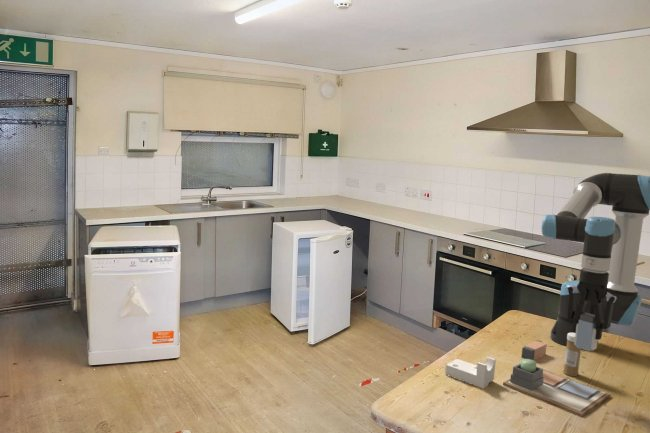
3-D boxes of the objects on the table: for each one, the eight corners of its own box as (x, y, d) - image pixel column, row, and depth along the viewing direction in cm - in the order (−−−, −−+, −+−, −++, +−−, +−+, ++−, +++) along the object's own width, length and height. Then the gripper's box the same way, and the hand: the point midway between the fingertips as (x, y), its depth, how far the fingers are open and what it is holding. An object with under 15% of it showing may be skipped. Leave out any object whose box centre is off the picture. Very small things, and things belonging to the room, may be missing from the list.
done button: (524, 366, 169) (525, 357, 169) (538, 371, 166) (539, 362, 165) (517, 370, 166) (518, 361, 166) (531, 375, 163) (532, 366, 162)
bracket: (493, 382, 169) (495, 359, 168) (483, 389, 164) (485, 365, 163) (456, 369, 178) (458, 347, 177) (445, 375, 173) (447, 352, 172)
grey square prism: (581, 344, 165) (585, 312, 163) (594, 348, 162) (598, 315, 160) (575, 346, 162) (579, 314, 160) (589, 351, 159) (593, 318, 158)
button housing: (521, 376, 172) (523, 361, 171) (542, 384, 166) (544, 369, 166) (510, 382, 167) (511, 366, 166) (531, 390, 162) (533, 375, 161)
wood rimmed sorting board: (534, 368, 180) (534, 364, 180) (610, 396, 163) (610, 392, 163) (502, 384, 167) (503, 380, 167) (581, 416, 150) (582, 412, 149)
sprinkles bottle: (581, 375, 177) (585, 335, 175) (572, 377, 175) (577, 338, 173) (568, 369, 181) (572, 331, 179) (559, 372, 178) (564, 333, 176)
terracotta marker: (534, 351, 196) (520, 357, 190) (536, 340, 196) (522, 346, 189) (545, 354, 193) (531, 361, 187) (546, 344, 193) (532, 350, 186)
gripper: (560, 265, 162) (551, 340, 165) (621, 278, 150) (610, 358, 153) (571, 262, 167) (562, 335, 170) (631, 274, 155) (620, 352, 158)
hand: (585, 346), depth 162 cm, fingers closed on grey square prism, 4 cm apart
